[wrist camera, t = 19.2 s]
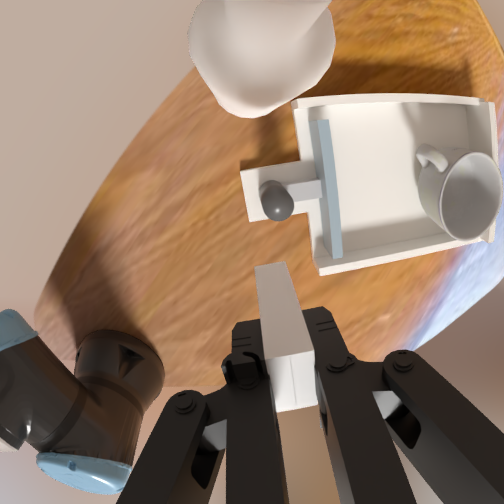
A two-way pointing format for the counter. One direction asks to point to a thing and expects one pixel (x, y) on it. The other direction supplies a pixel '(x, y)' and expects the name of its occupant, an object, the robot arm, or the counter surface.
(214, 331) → the counter surface
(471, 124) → the tray
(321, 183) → the blue-grey panel and knob
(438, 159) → the teacup
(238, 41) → the bottle
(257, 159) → the counter surface
